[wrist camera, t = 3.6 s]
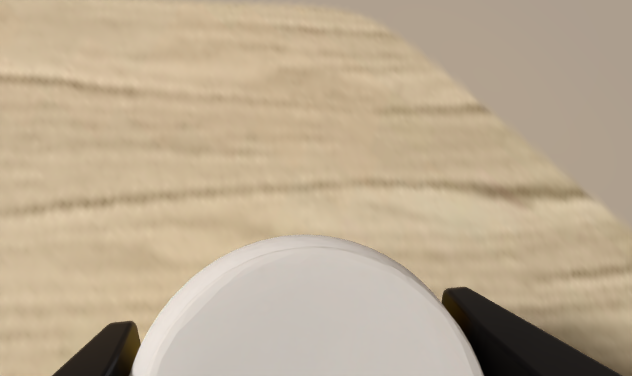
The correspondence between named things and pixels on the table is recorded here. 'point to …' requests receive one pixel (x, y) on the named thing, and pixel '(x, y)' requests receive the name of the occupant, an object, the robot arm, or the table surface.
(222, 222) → the table surface
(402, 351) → the supplement bottle
